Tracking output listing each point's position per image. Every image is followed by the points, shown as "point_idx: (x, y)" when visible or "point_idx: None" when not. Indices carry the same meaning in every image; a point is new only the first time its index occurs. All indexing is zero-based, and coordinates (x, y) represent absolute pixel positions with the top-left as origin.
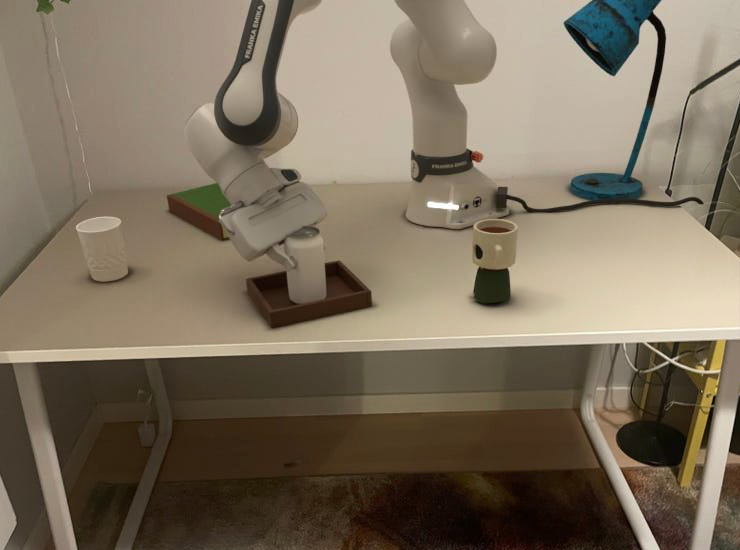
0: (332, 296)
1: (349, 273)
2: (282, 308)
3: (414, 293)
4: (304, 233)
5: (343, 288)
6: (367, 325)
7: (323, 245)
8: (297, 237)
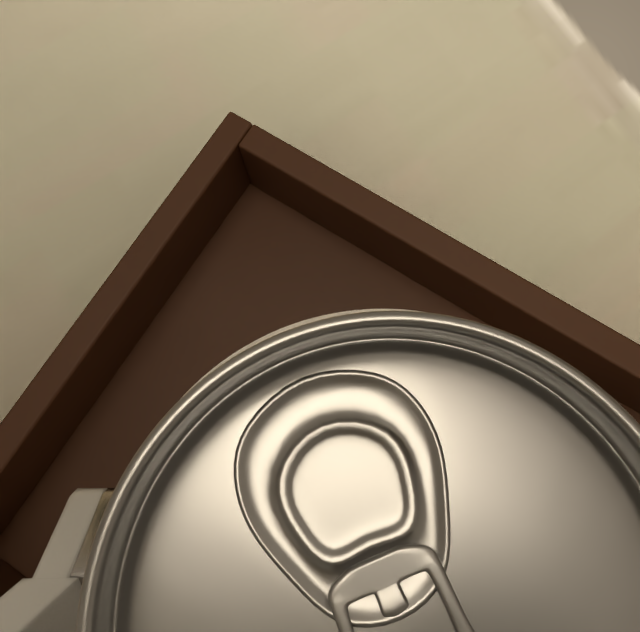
0: None
1: (68, 366)
2: None
3: (20, 65)
4: (387, 589)
5: (145, 397)
6: (426, 68)
7: (87, 503)
8: (587, 592)
